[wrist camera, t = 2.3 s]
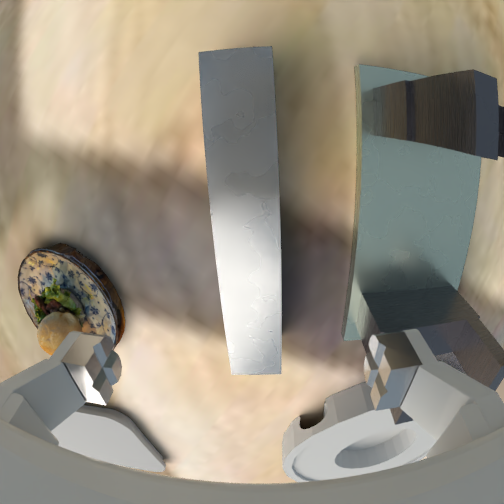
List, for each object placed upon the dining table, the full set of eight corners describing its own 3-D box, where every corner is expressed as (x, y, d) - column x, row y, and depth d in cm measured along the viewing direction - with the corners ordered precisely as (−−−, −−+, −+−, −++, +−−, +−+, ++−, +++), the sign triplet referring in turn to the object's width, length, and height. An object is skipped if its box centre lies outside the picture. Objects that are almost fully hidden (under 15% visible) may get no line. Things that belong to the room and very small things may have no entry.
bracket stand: (354, 67, 15) (444, 21, 5) (473, 91, 14) (579, 98, 5) (341, 333, 23) (371, 440, 13) (440, 321, 23) (492, 404, 13)
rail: (213, 68, 16) (198, 52, 12) (269, 64, 15) (271, 46, 11) (236, 335, 24) (231, 374, 20) (278, 333, 24) (281, 373, 20)
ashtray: (286, 472, 36) (286, 493, 32) (274, 389, 27) (275, 422, 23) (423, 445, 34) (429, 463, 30) (473, 348, 25) (489, 371, 21)
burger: (53, 214, 20) (-7, 251, 13) (151, 312, 23) (119, 377, 16) (16, 290, 23) (-25, 329, 17) (92, 364, 27) (64, 415, 20)
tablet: (173, 462, 36) (171, 473, 34) (58, 438, 39) (55, 447, 37) (127, 405, 30) (122, 419, 28) (10, 383, 32) (4, 392, 30)
